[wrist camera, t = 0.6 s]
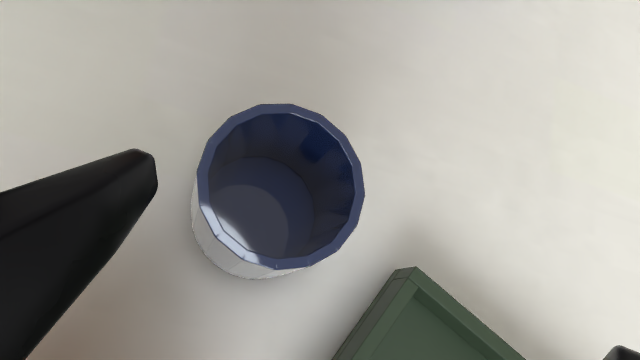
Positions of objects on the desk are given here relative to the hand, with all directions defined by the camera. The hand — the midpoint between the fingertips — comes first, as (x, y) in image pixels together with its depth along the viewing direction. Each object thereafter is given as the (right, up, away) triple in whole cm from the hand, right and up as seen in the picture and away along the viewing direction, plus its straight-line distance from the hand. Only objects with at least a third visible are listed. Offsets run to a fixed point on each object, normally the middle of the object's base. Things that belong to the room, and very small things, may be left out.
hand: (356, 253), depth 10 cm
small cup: (-3, 0, +13) cm, 14 cm away
